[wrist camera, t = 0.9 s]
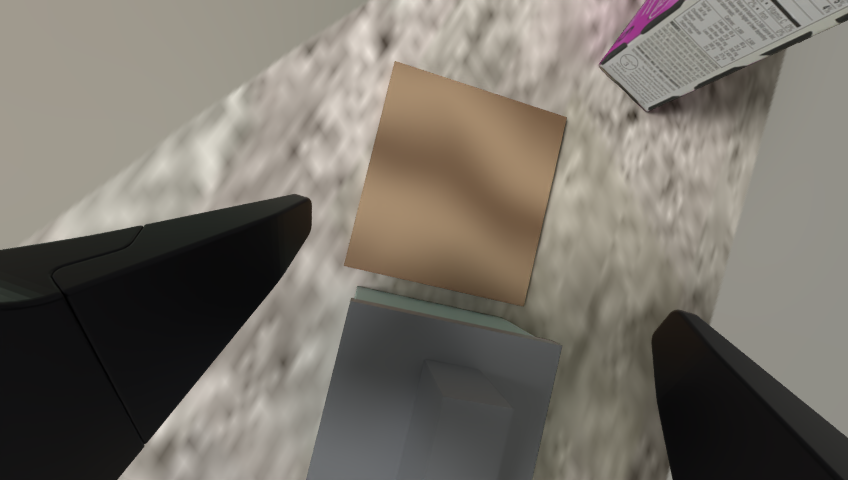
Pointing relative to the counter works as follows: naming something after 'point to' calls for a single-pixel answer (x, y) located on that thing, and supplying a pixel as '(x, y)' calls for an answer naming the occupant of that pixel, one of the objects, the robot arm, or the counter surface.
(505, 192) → the walnut board
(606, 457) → the counter surface
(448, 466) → the lid
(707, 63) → the candy bar box
